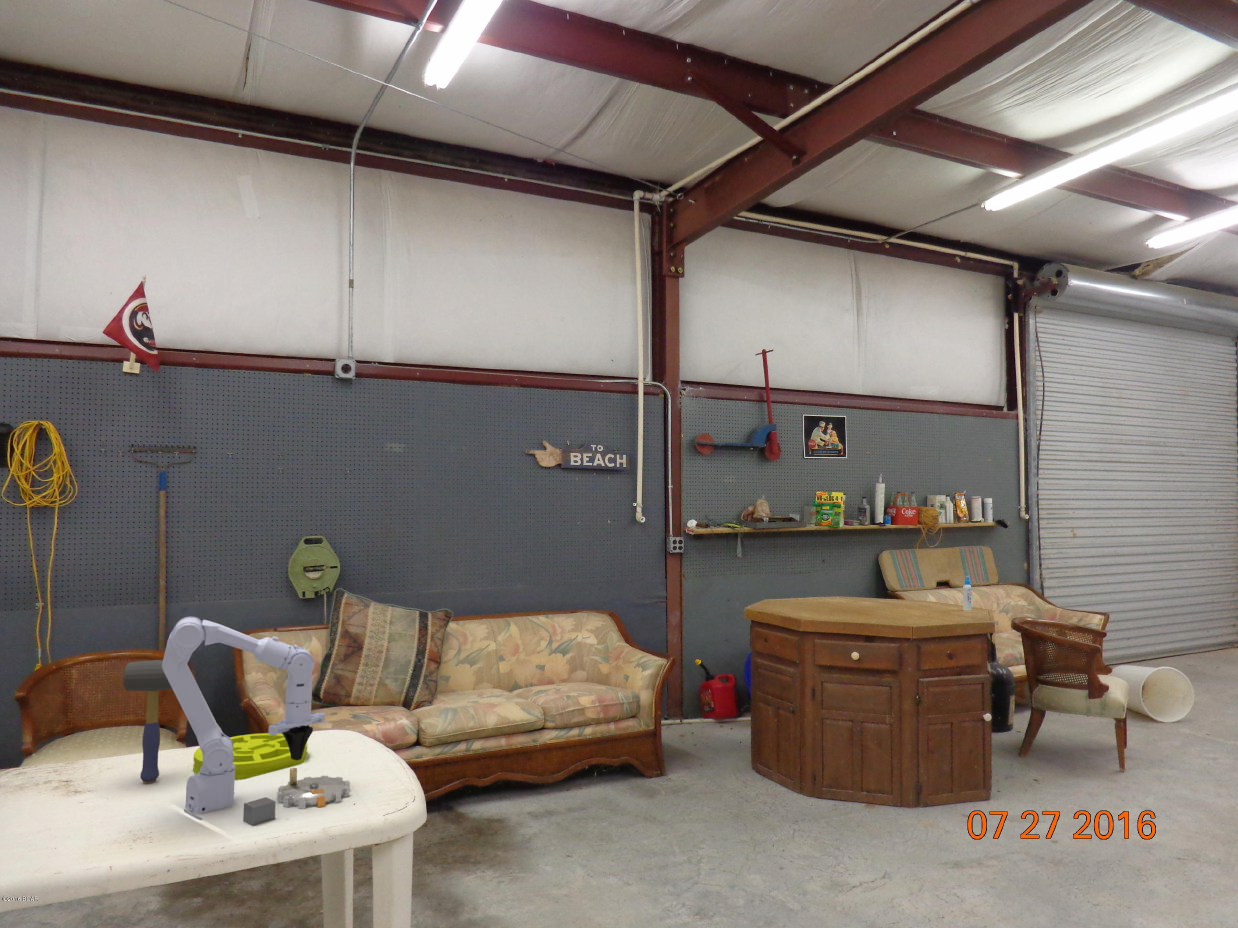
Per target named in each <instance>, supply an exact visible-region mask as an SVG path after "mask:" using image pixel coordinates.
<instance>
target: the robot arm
mask: <svg viewBox="0 0 1238 928" xmlns="http://www.w3.org/2000/svg"><path fill="white" fill-rule="evenodd" d="M203 641H204V646H209V645H214V644H218V643H219V644H223V645H227V646H229V647H233V648H234V649H235V648H236V649H239V650H243V651H246V652H249V653H251V654H253V656H254V658H255V660H256V661H257V662H261V663H262V664H265V665H268V666H271V667H274V668H277V669H280V670H287V681H286V685H285V686H286V687H285V707H284V709H285V711H284V712H285V713H284V719H283V720H281V721H278V722H276V723H274V724H272V725H268V733H269V735H273V736H275V735H278V733H280V734H283V736H284V737H285V739H286V741H287V744H288V747H289V750H290V754H291V759H293V760H300V759H302V755H303V752H304V748H305V746H306V743H307V744H308V740H309V739H310V737H311V735H312V733H313V732H314V728H313V727H311V726H310V725H314V724H319V723H324V722H326V713H323V712H317V713H312V698H313V697H312V695H313V694H312V693H313V680H312V677H313V673H312V672H313V670H314V668H315V664H316V663H314V662H315V661H314V658H313V655H312V653H310V652H309V650H308V649H306V648H304V647H302V646H299V647H298V645H297V644H293V645H291V644H288V643H285V642H284V641H283V642H282V641H279V637H277V636H274V635H273V636H272V637H269V636H266V637H264V638H261V639H259V638H258V639H257V638H255V637H253V636H250V635H248V634H246V633H242V632H240V631H237V630H235V629H232V628H230V627H228V626H225V625H223V624H220V623H217V622H214V621H211V620H207V619H203V620H201V619H200V618H198V617H197V616H186V617H182V618H181V619H179V621H177V623H176V624H175V625H174V627H173V629H172V631H171V632H170V633H169V637H168V639H167V642H166V647H165V651H164V654H163V658H162V660H163V663H162V669H163V671H164V673H165V675H166V677H167V679H168V681H169V683H170V685H171V687H172V689H171V690H172V691H173V692H174V695H175V697H176V699H177V701H178V703H179V704H180V707H181V708H182V711H183V712H184V715H185V717H186V719H187V722H189V725H190V726H191V728H192V730H193V732H194V735H195V737H196V740H197V742H198V746H199V748H200V749H201V751H202V754H203V761H202V762H203V766H202V767H201V768H200V772H199V773H197V774H194V775H191V776H189V777H188V778H187V782H186V787H185V788H186V790H185V808H184V809H183V812H184V813H186V814H188V815H190V816H191V817H194V818H195V819H197V820H200V821H201V820H203V818H201V817H200V816H197V815H201V814H205V813H208V812H212V811H217V810H222V809H226V808H228V807H231V806H232V805H233V804H234V802H235V785H236V784H235V782H236V780H235V764H234V763H233V760H234V754H233V742H232V740H231V739H230V737H229V736H228V735H226V734H225V733H224V732H223V731H222V728H221V727H220V726H219V724H218V723H217V721H216V719H215V717H214V715H213V713H212V711H211V709H210V707H209V705H208V703H207V701H206V699H205V697H204V695H203V693H202V691H201V689H200V687H199V685H198V683H197V681H196V679H195V677H194V675H193V673H192V671H191V669H190V667H189V665H188V662H189V661H190V658H191V656H192V655H193V653H194V651H196V650H197V648H199V646H200V645H201V644H202V643H203Z"/></svg>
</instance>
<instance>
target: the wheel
mask: <svg viewBox="0 0 1238 928" xmlns="http://www.w3.org/2000/svg"><path fill="white" fill-rule="evenodd" d="M297 778H298V768H296V767H290V769H289V780H288V781H287V784H286V785H280V786H279V787H278V788H277V792H276V803H277V804H281V803H282V806H283V807H285V808H290V807H297V808H298V809H299V810H300V809H301V810H302V809H303V810H306V809H307V808H310V807H317V808H323V807H326V805H329V804H331V803H333V804H338V803H340V802H342V799H343V798H348V797H349V795H350V789H351V786H350V785H351V782H350V781H349V780H343V779H344V777H341V776H336V777H329V775H321V776H317V777H312V776H305V777H303V779H299V780H298V779H297Z"/></svg>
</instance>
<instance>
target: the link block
mask: <svg viewBox="0 0 1238 928" xmlns="http://www.w3.org/2000/svg"><path fill="white" fill-rule="evenodd" d="M276 803H277V800H276V801H275V800H273V799H271V798H269V797H267V796H266V797H262V798H258V799H255V800H252V801H248V802H244V803H243V818H242V819H243V821H242V822H244V823H246V824H247V825H250V826H252V827H254V826H257V825H259V824H263V823H267V822H270V821H273V820H275V819H276Z"/></svg>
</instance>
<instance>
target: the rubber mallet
mask: <svg viewBox="0 0 1238 928" xmlns="http://www.w3.org/2000/svg"><path fill="white" fill-rule="evenodd" d="M162 663H163V659H153V660H141V661H131V662H128V663H127V664H126V665H125V667H124V669H123V679H122V682H123V683H122V684H123V685H122V686H123V688H124V689H125V691H127V692H128V691H130V692H133V691H134V692H135V691H136V692H147V698H146V699H147V702H146V720H145V724H144V727H143V732H142V743H141V744H142V754H143V755H142V769H141V771H140V780H141V781H142V783H143V784H152V783H156V781H157V779H158V778H159V776H160V770H159V750H160V744H161V730H160V729H161V728H160V723H159V707H160V706H159V704H160V703H159V702H160V700H159V699H160V698H159V697H160V691H164V690H165V691H166V690H173V689H172V687H171V685H170V683H169V681H168V679H167V677H166V675H165V673H164V671H163V669H162Z"/></svg>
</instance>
